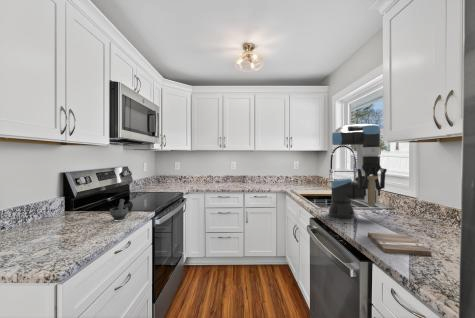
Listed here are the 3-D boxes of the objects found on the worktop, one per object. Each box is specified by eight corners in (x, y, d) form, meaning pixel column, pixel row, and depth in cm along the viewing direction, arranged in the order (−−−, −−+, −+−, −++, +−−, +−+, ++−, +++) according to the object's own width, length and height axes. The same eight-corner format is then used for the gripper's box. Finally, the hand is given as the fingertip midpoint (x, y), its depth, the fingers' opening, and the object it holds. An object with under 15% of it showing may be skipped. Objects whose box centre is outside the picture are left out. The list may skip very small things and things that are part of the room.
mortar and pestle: (124, 222, 139) (124, 201, 139) (107, 222, 138) (107, 202, 138) (130, 217, 151) (130, 198, 150) (115, 217, 150) (115, 198, 150)
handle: (370, 204, 123) (370, 175, 123) (380, 206, 117) (380, 176, 117) (362, 204, 122) (362, 175, 122) (371, 207, 116) (371, 176, 116)
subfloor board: (367, 235, 113) (367, 231, 112) (405, 237, 109) (405, 233, 109) (384, 252, 93) (384, 247, 93) (431, 255, 90) (431, 250, 90)
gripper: (354, 156, 117) (355, 203, 118) (393, 155, 114) (393, 204, 114) (351, 155, 125) (351, 200, 125) (387, 155, 121) (386, 201, 122)
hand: (371, 202), depth 120 cm, fingers closed on handle, 4 cm apart
